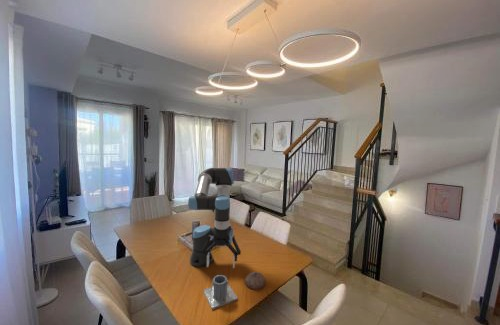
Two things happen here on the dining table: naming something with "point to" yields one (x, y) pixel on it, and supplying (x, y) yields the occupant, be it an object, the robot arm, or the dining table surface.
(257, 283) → the decorative stone
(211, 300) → the square plate
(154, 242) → the dining table surface
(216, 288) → the sleeve
